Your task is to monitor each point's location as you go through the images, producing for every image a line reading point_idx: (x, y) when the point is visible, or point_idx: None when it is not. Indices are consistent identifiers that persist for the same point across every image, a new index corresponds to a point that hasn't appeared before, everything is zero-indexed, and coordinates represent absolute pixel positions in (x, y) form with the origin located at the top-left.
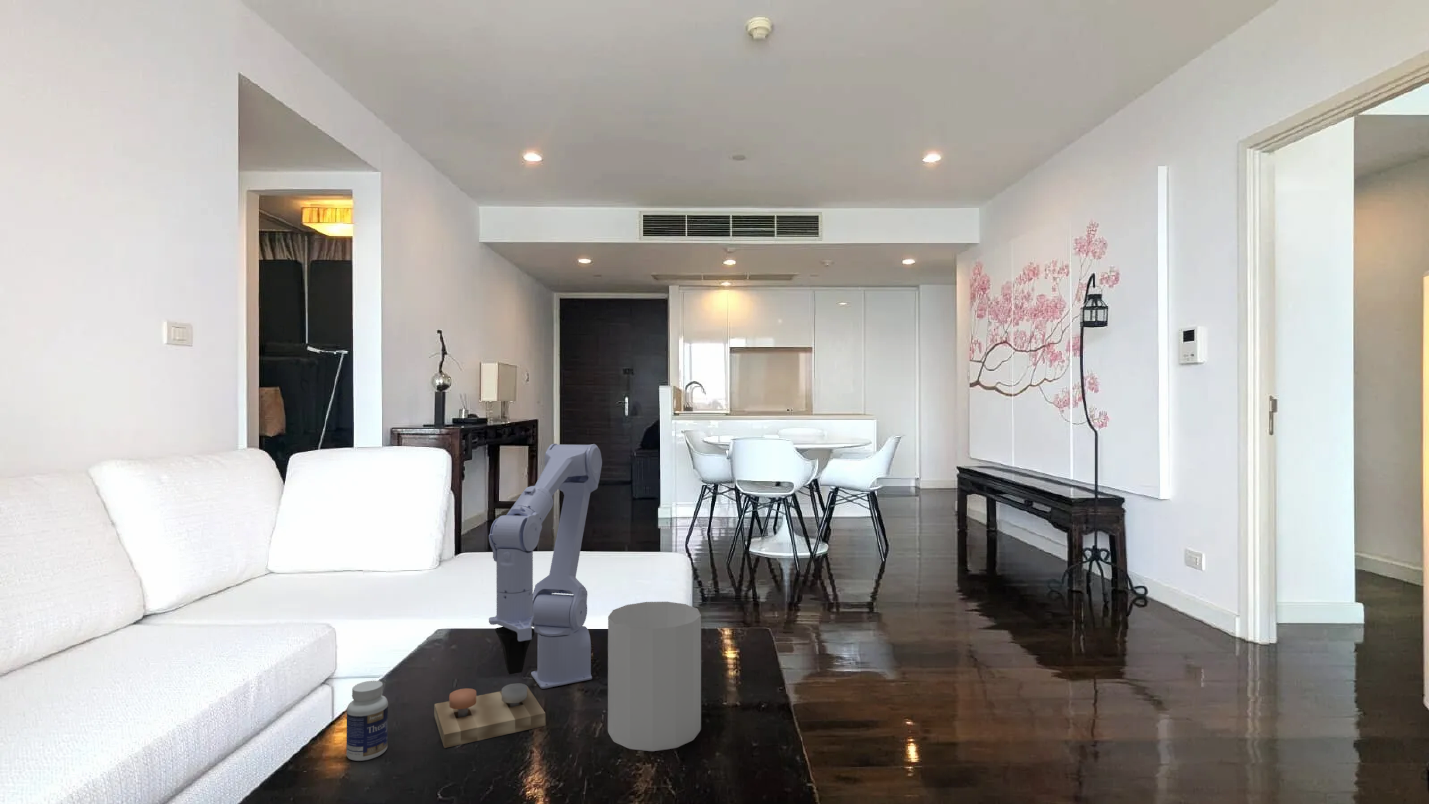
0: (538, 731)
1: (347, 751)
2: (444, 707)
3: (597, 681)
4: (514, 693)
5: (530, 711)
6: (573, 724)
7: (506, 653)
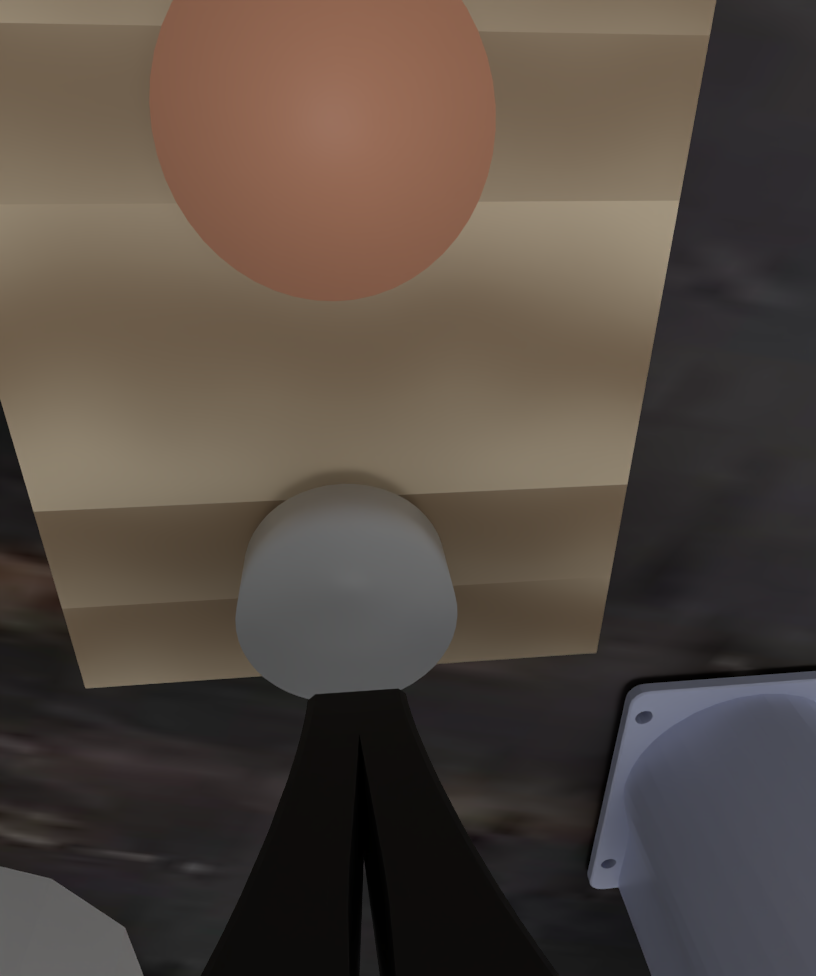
0: (41, 586)
1: None
2: None
3: (556, 886)
4: (239, 608)
5: (146, 617)
6: (78, 745)
7: (215, 954)
